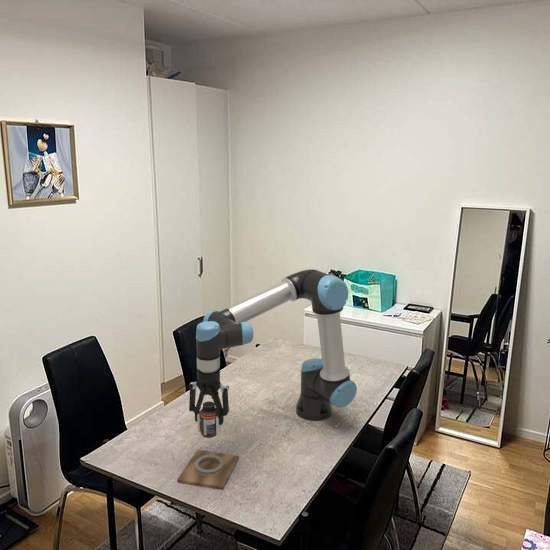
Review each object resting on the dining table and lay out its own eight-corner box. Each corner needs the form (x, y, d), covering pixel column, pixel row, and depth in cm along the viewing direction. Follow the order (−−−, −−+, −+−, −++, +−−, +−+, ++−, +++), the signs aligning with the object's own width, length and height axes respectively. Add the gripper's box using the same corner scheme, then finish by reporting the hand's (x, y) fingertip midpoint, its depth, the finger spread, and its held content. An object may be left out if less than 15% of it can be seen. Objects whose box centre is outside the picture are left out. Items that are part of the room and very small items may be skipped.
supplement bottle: (201, 429, 177) (200, 399, 175) (218, 428, 178) (217, 399, 175) (200, 439, 172) (199, 408, 169) (218, 438, 172) (217, 407, 169)
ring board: (238, 458, 185) (238, 451, 184) (222, 489, 168) (222, 482, 167) (197, 451, 188) (197, 445, 188) (177, 482, 171) (177, 475, 171)
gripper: (239, 366, 170) (239, 429, 176) (185, 360, 174) (187, 421, 180) (232, 376, 163) (232, 441, 169) (176, 369, 167) (178, 433, 173)
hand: (209, 431), depth 174 cm, fingers closed on supplement bottle, 6 cm apart
